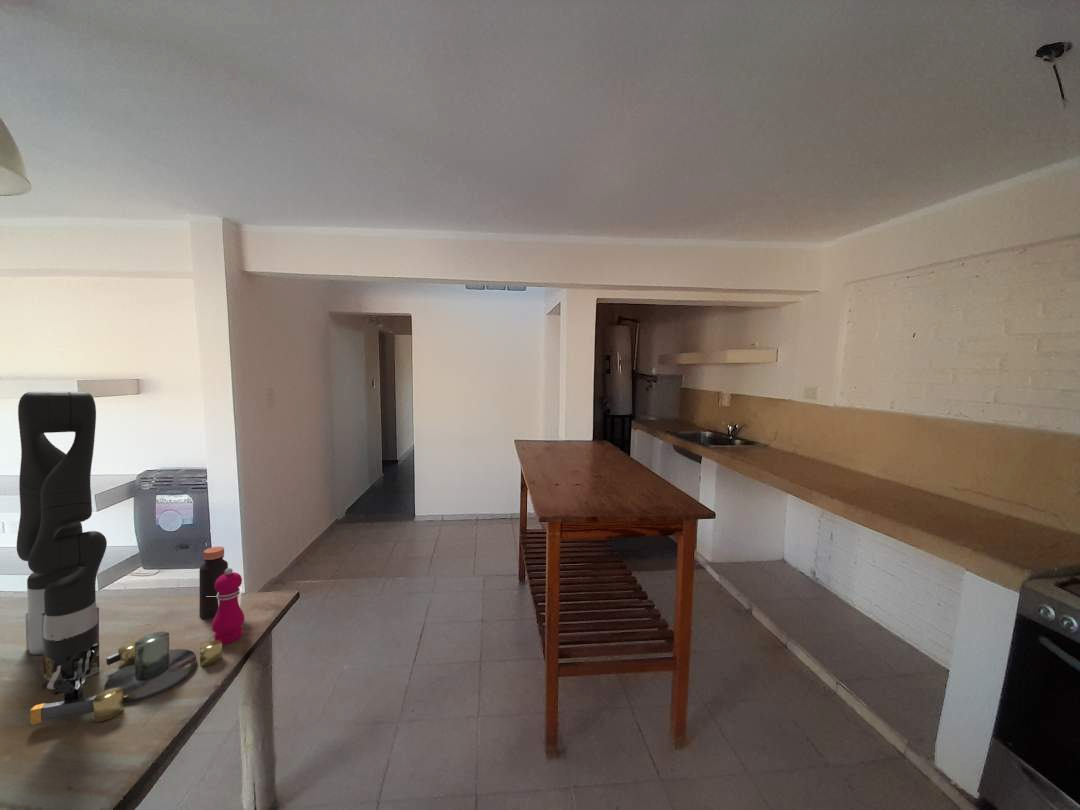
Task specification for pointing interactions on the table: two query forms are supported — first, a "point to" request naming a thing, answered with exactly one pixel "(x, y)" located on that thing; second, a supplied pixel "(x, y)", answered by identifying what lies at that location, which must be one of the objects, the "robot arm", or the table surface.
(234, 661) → the table surface
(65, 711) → the brass head mallet
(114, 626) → the table surface
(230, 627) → the pepper mill
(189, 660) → the base
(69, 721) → the table surface
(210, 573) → the bottle
